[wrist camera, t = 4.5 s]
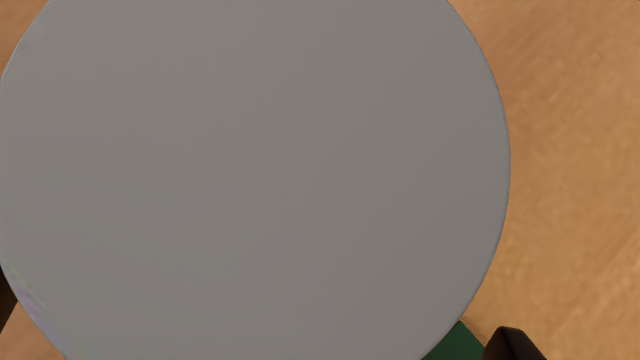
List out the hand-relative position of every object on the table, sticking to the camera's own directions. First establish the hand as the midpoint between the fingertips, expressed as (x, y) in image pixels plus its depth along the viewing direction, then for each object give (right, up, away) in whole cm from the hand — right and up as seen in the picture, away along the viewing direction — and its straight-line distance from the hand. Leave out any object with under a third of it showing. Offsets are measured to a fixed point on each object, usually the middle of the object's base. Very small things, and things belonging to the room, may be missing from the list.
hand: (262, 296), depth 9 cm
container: (0, 0, +10) cm, 10 cm away
